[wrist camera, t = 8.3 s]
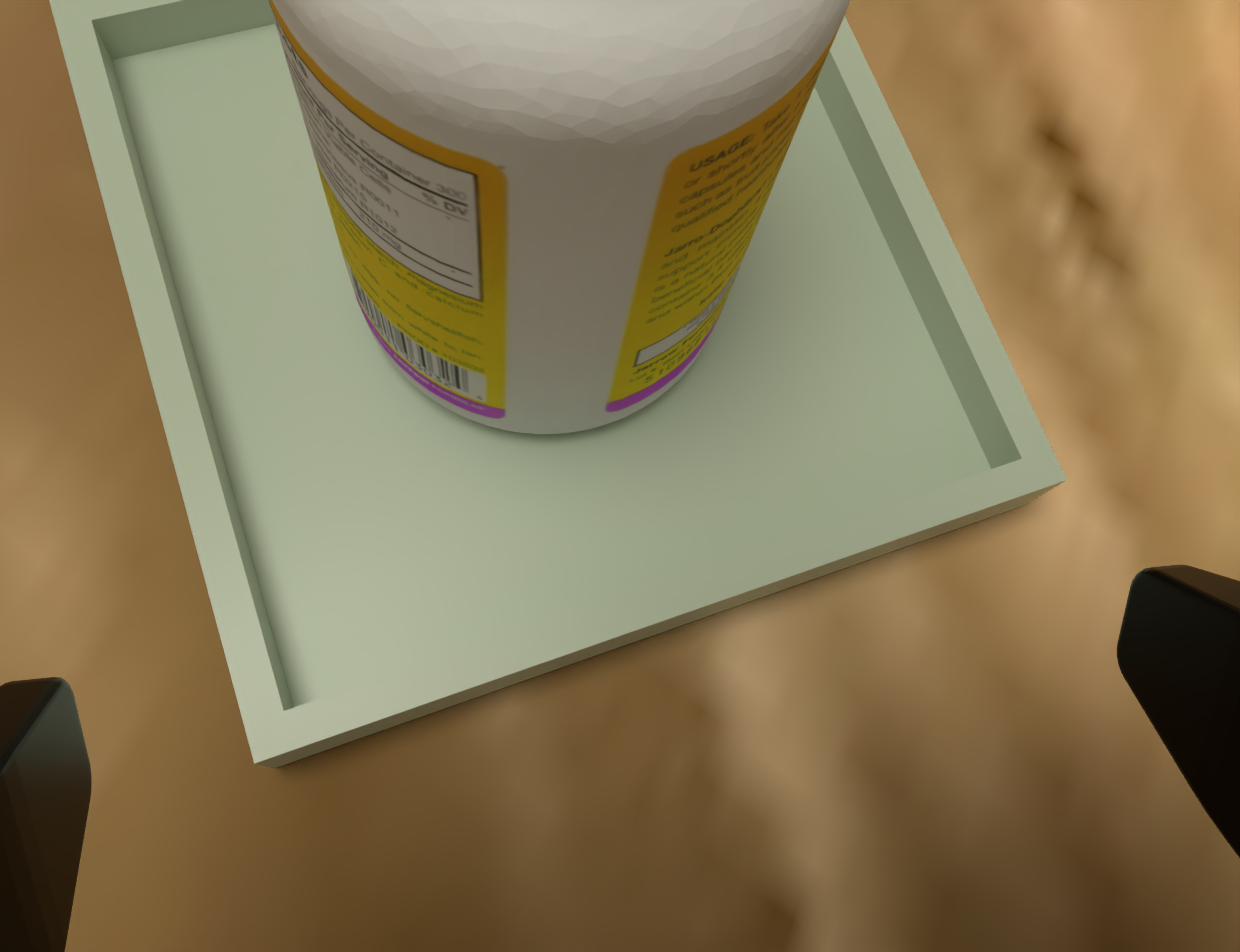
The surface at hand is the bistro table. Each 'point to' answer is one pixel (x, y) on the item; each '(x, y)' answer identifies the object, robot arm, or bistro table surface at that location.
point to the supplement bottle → (549, 182)
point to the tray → (504, 460)
